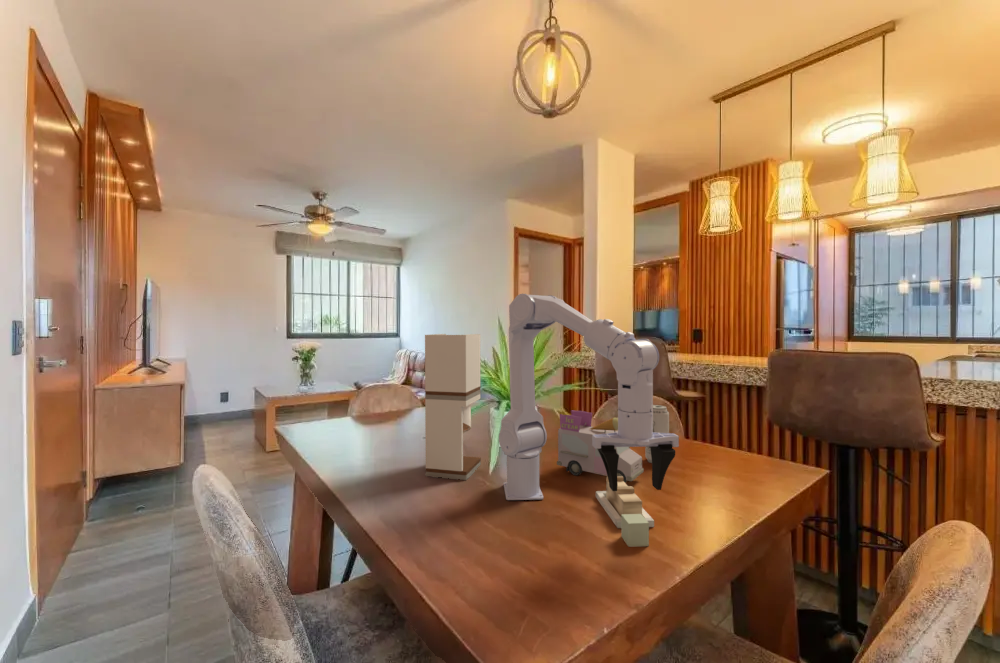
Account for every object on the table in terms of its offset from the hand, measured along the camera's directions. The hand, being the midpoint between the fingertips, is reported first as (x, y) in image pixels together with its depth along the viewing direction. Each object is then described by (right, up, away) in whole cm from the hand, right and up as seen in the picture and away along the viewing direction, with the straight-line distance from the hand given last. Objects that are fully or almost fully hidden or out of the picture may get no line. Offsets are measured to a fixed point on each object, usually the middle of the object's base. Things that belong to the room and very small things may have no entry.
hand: (635, 488), depth 74 cm
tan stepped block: (+1, -9, +12) cm, 15 cm away
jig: (+1, -9, +12) cm, 15 cm away
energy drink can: (+20, -9, +43) cm, 48 cm away
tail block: (0, -9, 0) cm, 9 cm away
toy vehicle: (+1, -9, +32) cm, 33 cm away
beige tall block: (-35, -9, +36) cm, 51 cm away
